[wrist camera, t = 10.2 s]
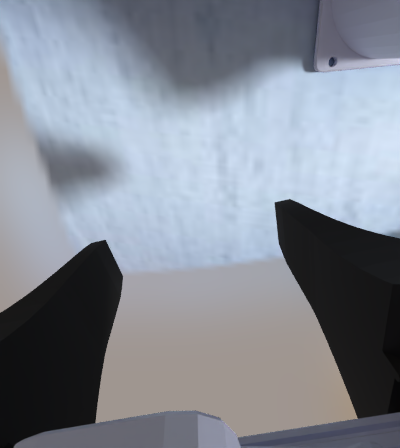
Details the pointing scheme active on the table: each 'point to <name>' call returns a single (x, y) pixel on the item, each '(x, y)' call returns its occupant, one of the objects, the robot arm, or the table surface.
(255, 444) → the robot arm
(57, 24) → the table surface
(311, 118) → the table surface
